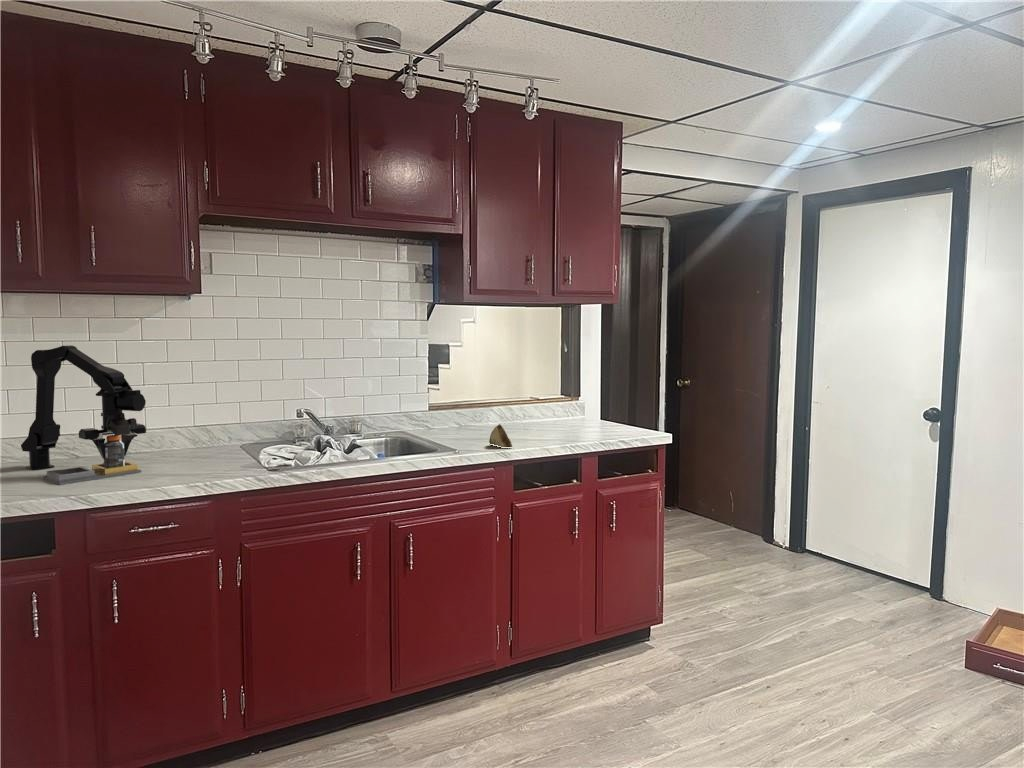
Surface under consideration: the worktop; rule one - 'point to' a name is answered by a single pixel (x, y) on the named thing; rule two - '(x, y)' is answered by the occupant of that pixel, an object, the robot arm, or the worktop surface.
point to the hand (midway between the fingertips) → (114, 457)
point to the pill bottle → (114, 452)
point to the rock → (500, 437)
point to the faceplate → (89, 473)
